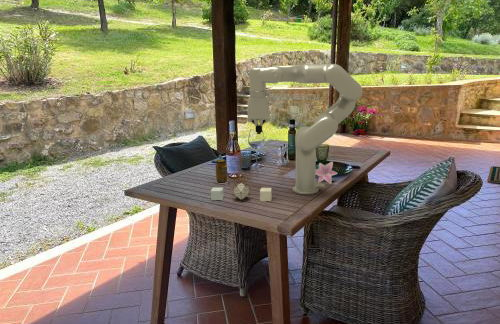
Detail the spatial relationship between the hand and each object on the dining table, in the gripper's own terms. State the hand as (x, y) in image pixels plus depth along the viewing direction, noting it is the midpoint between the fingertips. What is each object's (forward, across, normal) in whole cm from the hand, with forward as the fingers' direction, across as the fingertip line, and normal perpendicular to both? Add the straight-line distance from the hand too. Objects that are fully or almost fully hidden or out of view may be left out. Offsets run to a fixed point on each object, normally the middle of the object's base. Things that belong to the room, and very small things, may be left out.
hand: (259, 133), depth 187 cm
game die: (+29, +8, +11) cm, 32 cm away
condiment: (+29, +22, -14) cm, 39 cm away
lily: (+29, -32, -17) cm, 47 cm away
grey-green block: (+29, +20, +11) cm, 37 cm away
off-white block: (+29, -4, +11) cm, 31 cm away
